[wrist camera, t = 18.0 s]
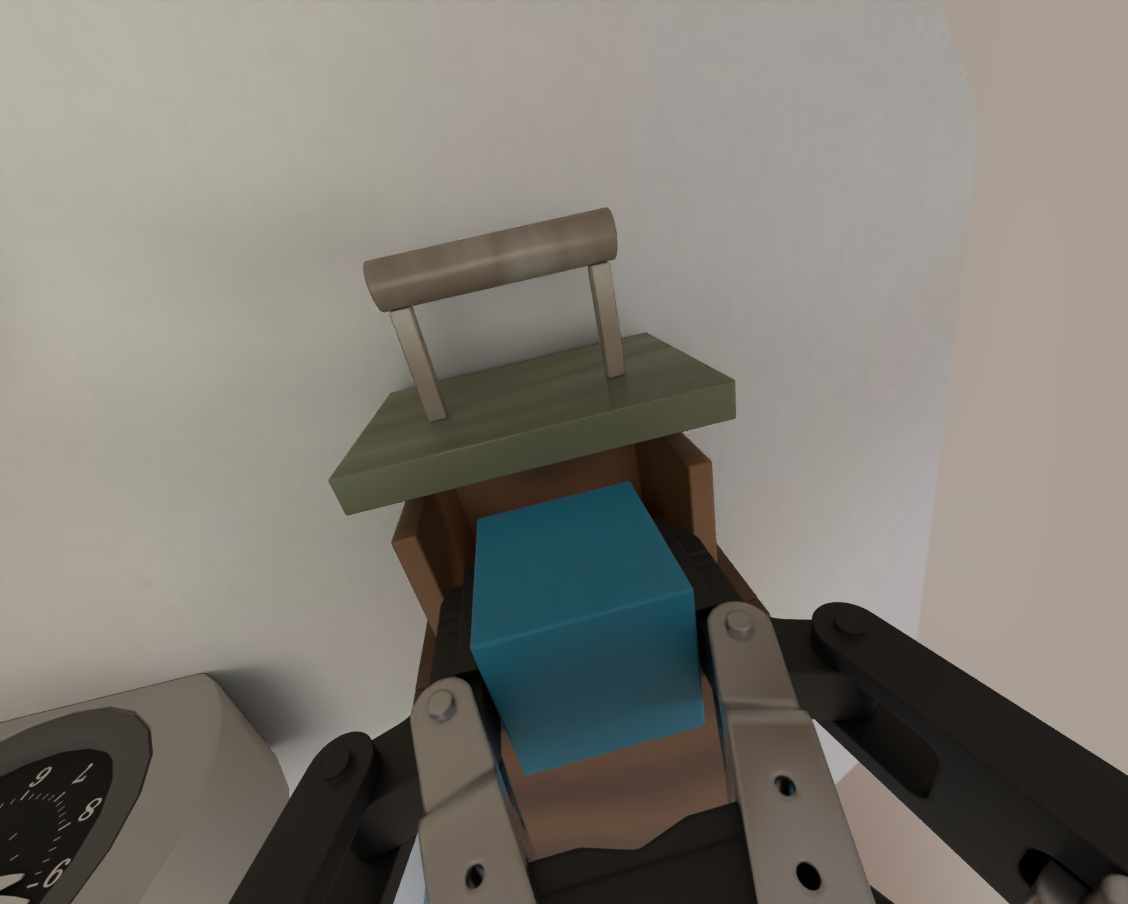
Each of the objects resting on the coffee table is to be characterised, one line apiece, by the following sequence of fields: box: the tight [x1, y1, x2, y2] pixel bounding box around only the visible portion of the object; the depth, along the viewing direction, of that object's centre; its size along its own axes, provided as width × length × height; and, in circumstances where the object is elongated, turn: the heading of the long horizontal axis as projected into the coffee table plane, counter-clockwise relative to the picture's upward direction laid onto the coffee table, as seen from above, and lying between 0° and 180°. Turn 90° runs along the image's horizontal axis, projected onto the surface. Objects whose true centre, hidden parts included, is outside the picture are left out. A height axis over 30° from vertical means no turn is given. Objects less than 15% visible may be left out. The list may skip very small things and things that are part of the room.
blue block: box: [470, 481, 705, 775], centre depth 11 cm, size 4×4×4 cm
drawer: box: [329, 208, 736, 636], centre depth 17 cm, size 18×11×8 cm, turn 11°
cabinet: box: [413, 543, 770, 859], centre depth 22 cm, size 15×13×10 cm
